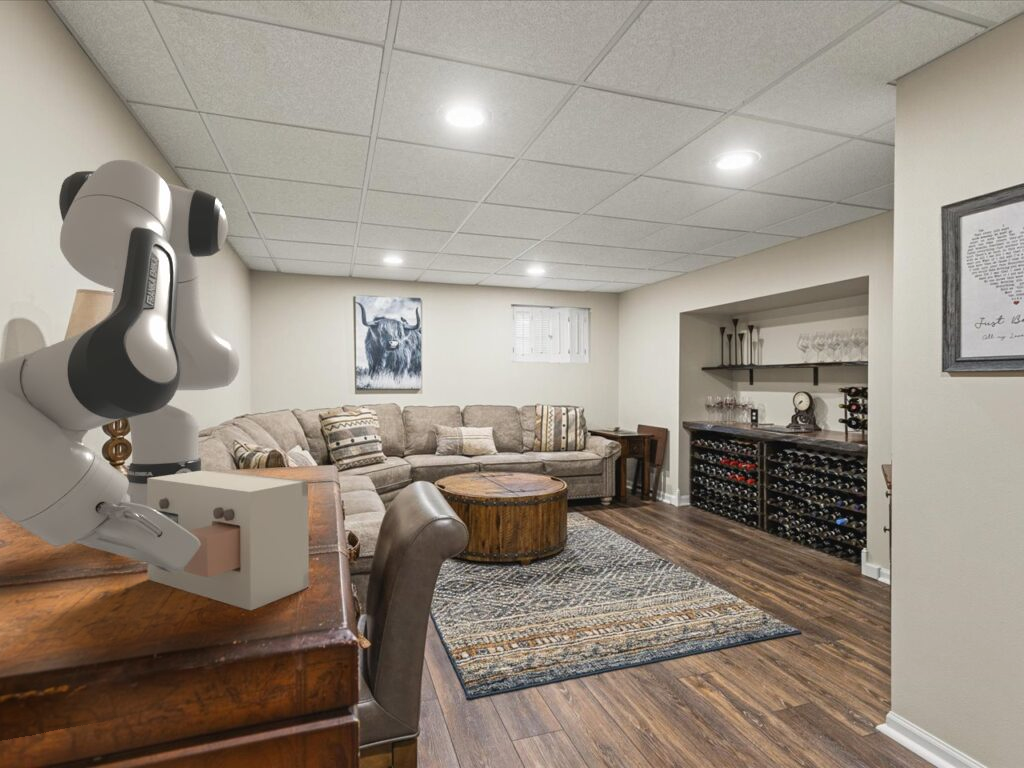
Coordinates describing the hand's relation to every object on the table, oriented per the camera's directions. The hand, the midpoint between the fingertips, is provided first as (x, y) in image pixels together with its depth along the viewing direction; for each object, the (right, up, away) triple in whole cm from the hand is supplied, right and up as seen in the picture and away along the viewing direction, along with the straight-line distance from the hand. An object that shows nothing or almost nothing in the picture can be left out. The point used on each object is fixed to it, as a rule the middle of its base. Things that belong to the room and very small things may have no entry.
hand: (174, 566), depth 64 cm
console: (-1, -7, +13) cm, 15 cm away
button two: (+3, -2, +5) cm, 7 cm away
